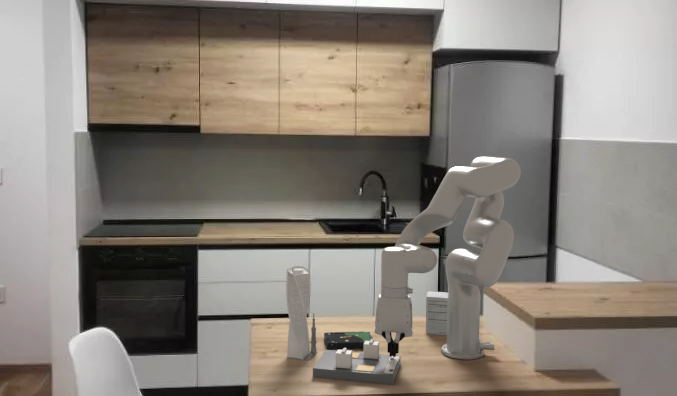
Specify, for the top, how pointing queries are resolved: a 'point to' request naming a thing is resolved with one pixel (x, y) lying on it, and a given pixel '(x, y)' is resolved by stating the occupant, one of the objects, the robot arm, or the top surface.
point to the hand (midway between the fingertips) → (393, 355)
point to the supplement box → (436, 313)
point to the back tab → (371, 349)
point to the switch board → (358, 368)
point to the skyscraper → (299, 314)
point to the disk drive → (346, 340)
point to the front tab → (344, 358)
